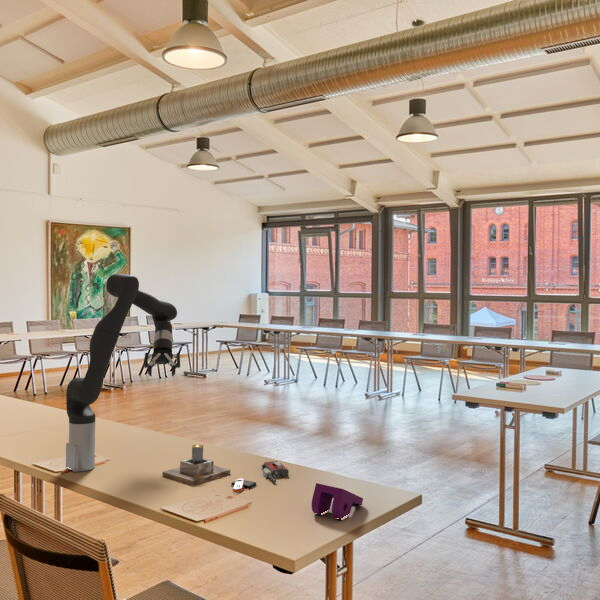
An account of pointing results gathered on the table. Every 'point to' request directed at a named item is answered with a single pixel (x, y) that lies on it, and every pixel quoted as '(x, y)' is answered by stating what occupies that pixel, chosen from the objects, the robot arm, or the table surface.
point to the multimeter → (242, 484)
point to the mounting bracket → (340, 501)
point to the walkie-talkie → (274, 470)
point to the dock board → (196, 472)
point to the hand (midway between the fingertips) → (161, 375)
